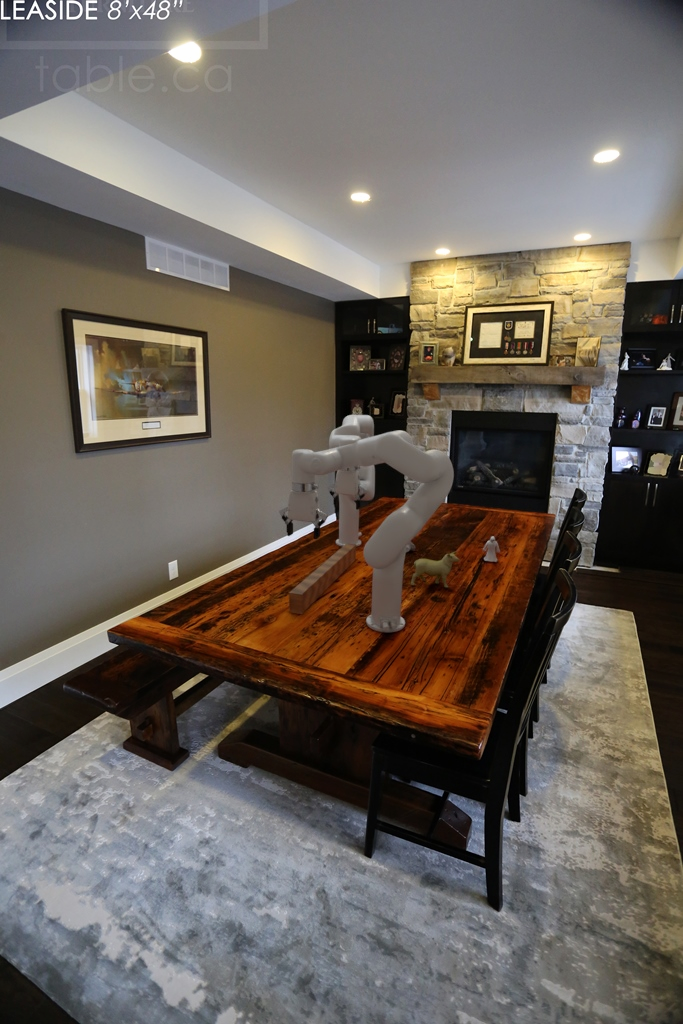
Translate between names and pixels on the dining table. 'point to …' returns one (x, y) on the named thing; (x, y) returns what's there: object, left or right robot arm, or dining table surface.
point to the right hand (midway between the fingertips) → (303, 536)
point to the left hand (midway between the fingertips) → (347, 507)
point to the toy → (434, 568)
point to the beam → (321, 579)
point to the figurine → (491, 550)
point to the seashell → (410, 546)
